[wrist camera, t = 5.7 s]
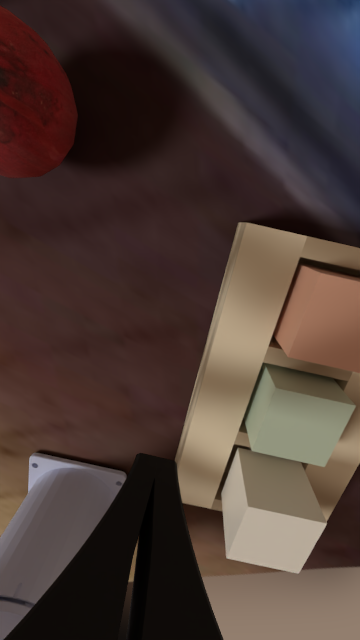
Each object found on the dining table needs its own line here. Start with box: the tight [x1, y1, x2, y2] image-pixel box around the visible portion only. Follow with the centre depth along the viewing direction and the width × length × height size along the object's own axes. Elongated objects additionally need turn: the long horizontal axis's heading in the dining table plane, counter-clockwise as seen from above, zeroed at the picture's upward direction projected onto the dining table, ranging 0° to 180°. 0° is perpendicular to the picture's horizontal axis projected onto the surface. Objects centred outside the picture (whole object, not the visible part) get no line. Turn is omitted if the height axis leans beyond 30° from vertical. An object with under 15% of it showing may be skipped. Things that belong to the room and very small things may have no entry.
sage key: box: [244, 362, 356, 467], centre depth 17 cm, size 4×4×4 cm
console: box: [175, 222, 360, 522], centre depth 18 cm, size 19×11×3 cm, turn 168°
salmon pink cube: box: [273, 263, 360, 373], centre depth 15 cm, size 4×4×4 cm
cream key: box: [221, 448, 327, 573], centre depth 17 cm, size 4×4×4 cm
